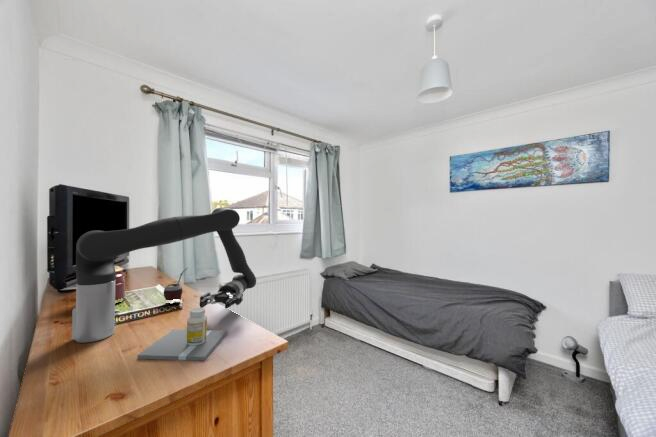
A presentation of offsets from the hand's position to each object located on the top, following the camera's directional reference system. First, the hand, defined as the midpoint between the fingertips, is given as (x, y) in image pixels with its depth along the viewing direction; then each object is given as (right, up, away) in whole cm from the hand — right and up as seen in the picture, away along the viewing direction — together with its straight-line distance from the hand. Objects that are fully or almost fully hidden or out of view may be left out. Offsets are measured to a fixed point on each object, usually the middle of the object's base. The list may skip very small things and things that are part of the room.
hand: (213, 305), depth 90 cm
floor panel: (-3, -8, -11) cm, 14 cm away
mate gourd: (-28, -8, +25) cm, 38 cm away
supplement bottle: (0, -8, -11) cm, 13 cm away
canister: (-56, -7, +23) cm, 61 cm away
